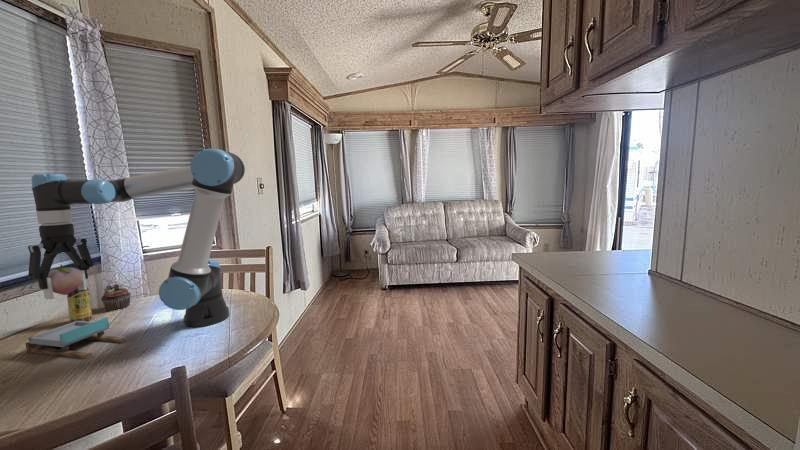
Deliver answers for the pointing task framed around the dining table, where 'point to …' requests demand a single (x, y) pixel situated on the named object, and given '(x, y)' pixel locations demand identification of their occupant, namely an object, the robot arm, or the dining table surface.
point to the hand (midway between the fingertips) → (66, 293)
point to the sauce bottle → (79, 305)
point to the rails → (86, 355)
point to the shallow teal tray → (70, 333)
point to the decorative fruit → (65, 279)
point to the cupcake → (115, 297)
